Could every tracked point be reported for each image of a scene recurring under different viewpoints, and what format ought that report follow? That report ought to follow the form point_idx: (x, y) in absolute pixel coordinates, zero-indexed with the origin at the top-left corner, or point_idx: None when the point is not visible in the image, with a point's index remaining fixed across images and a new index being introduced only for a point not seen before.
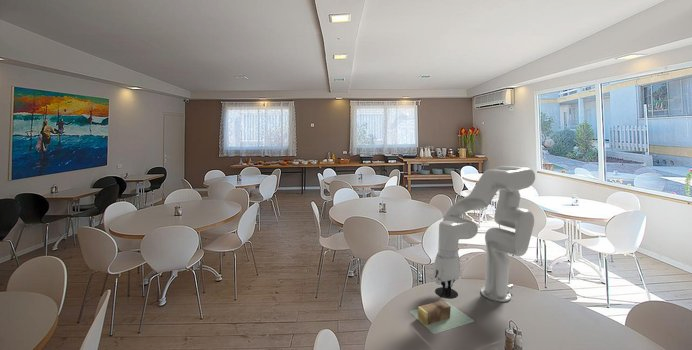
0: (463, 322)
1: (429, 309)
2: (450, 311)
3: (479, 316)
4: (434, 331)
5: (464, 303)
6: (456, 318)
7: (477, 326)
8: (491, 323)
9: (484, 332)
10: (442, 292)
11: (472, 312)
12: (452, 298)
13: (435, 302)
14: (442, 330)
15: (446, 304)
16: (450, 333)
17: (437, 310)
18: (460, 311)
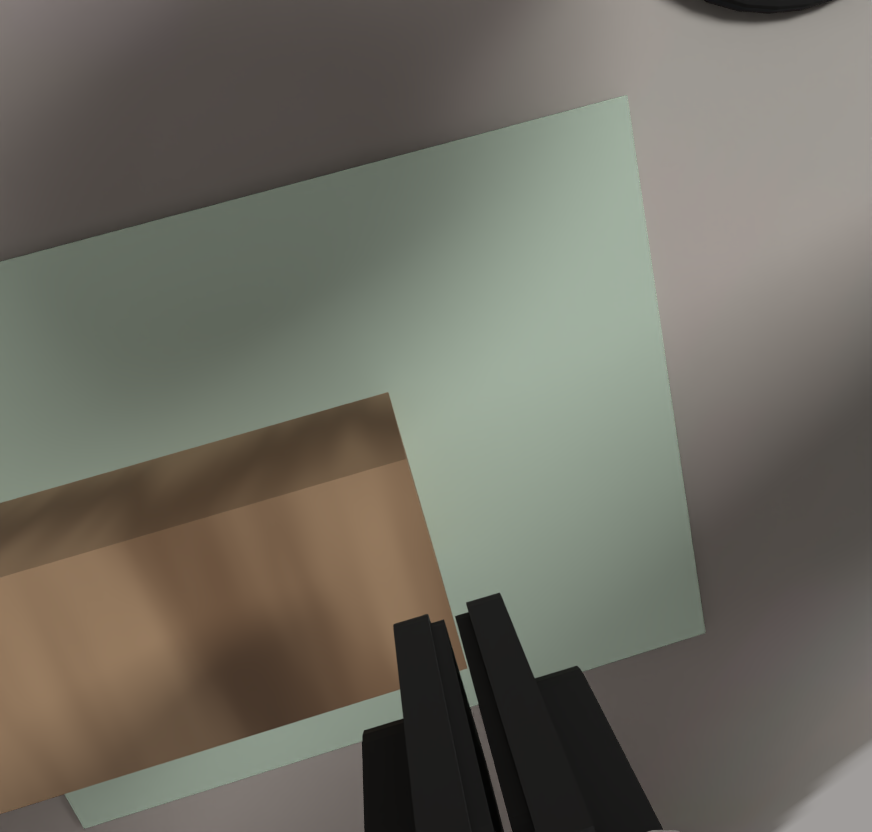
0: (558, 647)
1: (9, 740)
2: (524, 404)
3: (831, 526)
4: (106, 789)
5: (866, 194)
6: (517, 568)
7: (675, 697)
8: (857, 656)
9: (678, 785)
10: (364, 734)
11: (811, 436)
12: (779, 10)
13: (224, 524)
14: (219, 773)
15: (423, 605)
16: (303, 797)
17: (168, 758)
18: (666, 419)
